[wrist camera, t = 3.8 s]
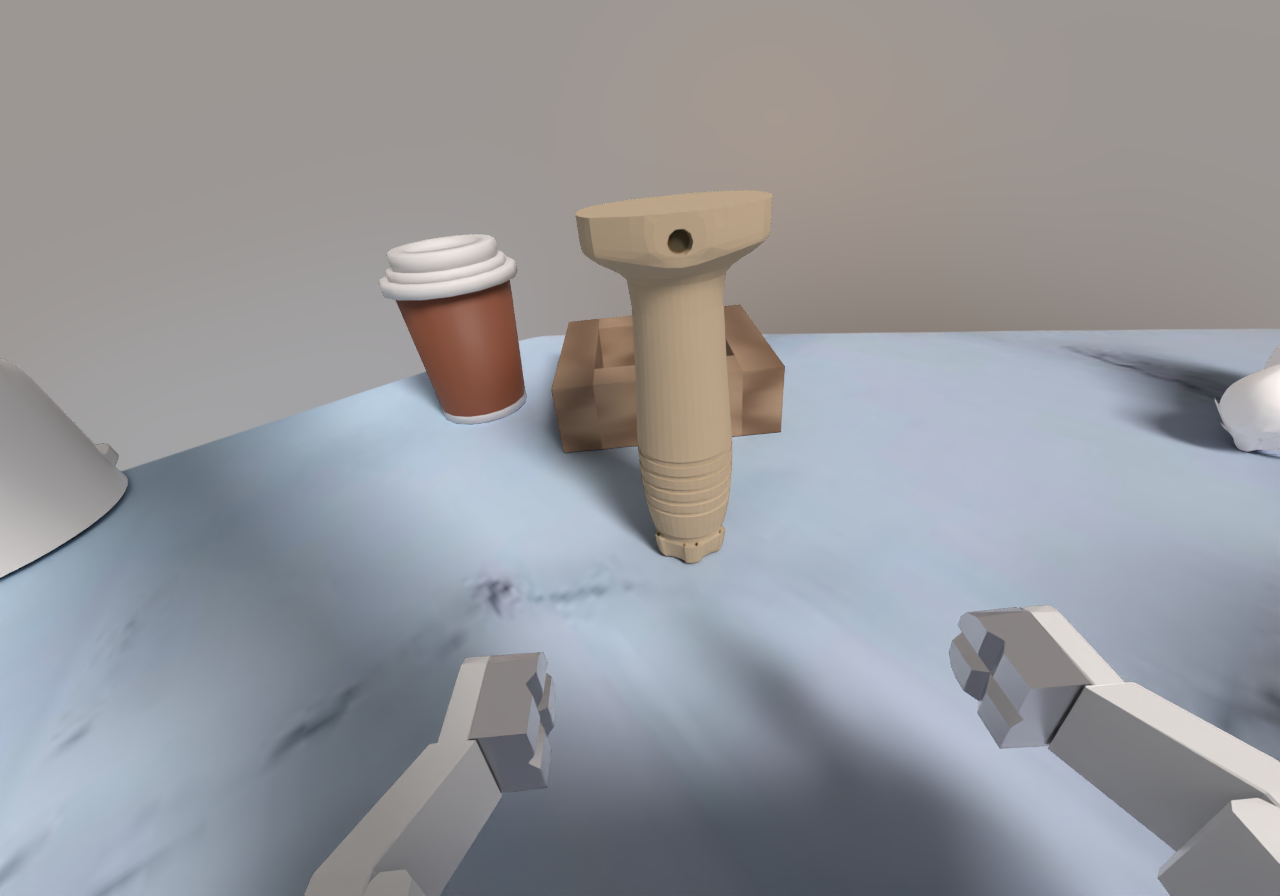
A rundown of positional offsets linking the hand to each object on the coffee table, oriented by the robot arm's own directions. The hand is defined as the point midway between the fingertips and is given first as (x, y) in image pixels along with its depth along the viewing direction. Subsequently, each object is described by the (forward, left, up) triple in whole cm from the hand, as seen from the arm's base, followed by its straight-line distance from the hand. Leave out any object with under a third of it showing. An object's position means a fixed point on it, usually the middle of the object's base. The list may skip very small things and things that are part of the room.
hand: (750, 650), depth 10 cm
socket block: (0, +28, -8) cm, 29 cm away
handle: (0, +12, -8) cm, 15 cm away
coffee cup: (-14, +30, -8) cm, 34 cm away
